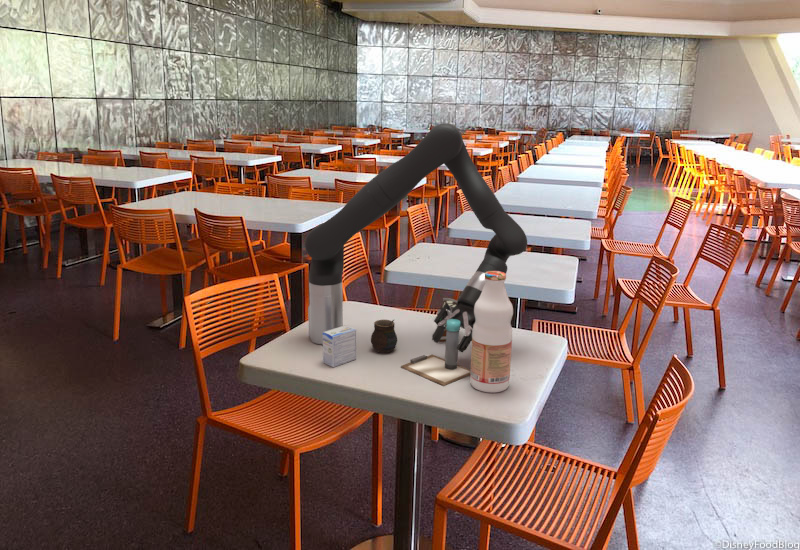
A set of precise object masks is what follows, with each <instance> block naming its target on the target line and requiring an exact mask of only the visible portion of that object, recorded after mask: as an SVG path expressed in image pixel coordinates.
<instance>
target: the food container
mask: <svg viewBox="0 0 800 550" xmlns="http://www.w3.org/2000/svg"><path fill="white" fill-rule="evenodd" d="M442 300H443V301H442V303H441V305H440V307H439V309H437V314H436V316H437V315H438V314H439V312H440V311H441V309H442V308H443V306H444V305H445V304H448V305H449V306H451V307H455V306H456V305H457V301H458V300H456V299H453V298H449V297H443V298H442ZM451 314H452V313H451ZM441 318H442V317H441ZM440 320H441V319H440ZM445 325H446V324H445ZM437 327H438V325H437V324H436V328H437ZM446 333H447V329H446V330H445V332H444V334H443V336H442V337H441V339H440V340H439V342H438V343H446Z"/></svg>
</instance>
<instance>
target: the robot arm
mask: <svg viewBox="0 0 800 550" xmlns="http://www.w3.org/2000/svg"><path fill="white" fill-rule="evenodd" d="M443 165H444V166H445V167H446V168H447V169H448V171H449V172H450V173H451V174H452V176H453V178H454V179H455V181H456V183H457V185H458V187H459V188H460V190H461V192H462V195H463V196H464V198H465V201H466V202H467V204H468V205H469V207H470V209H471V210H472V213H473V214H474V216H475V217H476V218H477V220H478V221H479V223H480V225H482V226H481V227H483V228H484V229H487V230H491V231H492V232H493V233H495V234H494V235H493V237H492V238H491V239H490V241H489V243H488V245H487V247H486V250H485V253H484V257H483V259H482V261H481V262H480V263H479V266H477V269H476V271H475V272H474V274H473V275H472V276H471V278H470V279H469V280H468V282H467V284H466V285H465V287H463V290H462V291H461V293H460V295H459V297H458V298H457V300H456V301H457V305H456V306H455V307H451V306H449V305H448V304H445V305H444V306H443V308H442V309H441V311H440V312H439V314H438V315H437V314H436V316H435V318H434V319H433V322H434V323H435V325H436V329H435V331H433V334H432V336H431V338H432V339H431V340H432V341H433V342H434V343H436V344H437V343H440V342H439V340H440V339H441V337H442V336H443V334H444V332H445V330H446V326H447V320H449V319H457V320H459V321H460V328H461V329H463V330H464V331H465V334H464V335H463V336H462V338H461V340H459V345H458V346H457V349H458V352H460V353H462V354H463V353H464V352H465V351H466V350H467V349H468V347H469V345H471V343H472V331H473V326H474V323H475V315H474V306H475V303H476V301H477V300H478V299H479V297H480V295H481V292H482V290H483V288H484V285H485V282H486V281H485V278H484V276H485V273H486V272H488V271H500V272H504V273H505V274H506V275H507V272H508V265H507V264H506V263H507V262H508V259H509V258H510V257H512V256H517V255H520V254H521V255H522V253H524V252H525V251H526V250H527V246H528V238H527V235H526V233H525V231H524V229H523V228H522V227H521V226H520V224H518V222H516V221H515V219H514V218H512V216H511V215H509V213H507V211H505V208H503V206H502V204H501V202H500V201H499V199H498V198H497V197H496V195H495V193H494V192H493V190H492V189H491V187H490V186H489V184H488V183H487V181H486V180H485V179H484V177H483V176H482V174H481V173H480V171H479V170H478V168H477V167H476V165H475V163H474V161H473V160H472V158H471V156H470V153H469V152H468V149H467V147H466V145H465V142H464V139H463V135H462V133H461V131H460V129H459V128H458V127H457V126H455V125H454V124H452V123H448V122H445V123H440V124H437V125H435V126H433V127H432V128H431V129H430V130H429V131H428V132H427V134H426V135H425V136H424V137H423V138H422V140H421V141H419V143H417V145H416V146H415V147H414V148H413V149H412V150H410V151H409V152H408V153H407V154H406V155H405V156H403V157H402V158H400V159H399V160H397V161H395V162H393V163H392V164H390V165H389V166H388V167H386V168H384V169H383V170H381V171H380V172H379V173H378V174H376V175H375V176H374V177H373V178H371V180H369V181H368V182H367V183H366V184H365V185H364V186H363V187H361V188H360V189H359V190H358V191H357V192H356V193H355V194H354V195H353V196H352V197H351V199H350V200H348V201H347V203H346V204H345V205H344V206H343V207H342V208H341V209H340V210H339V211H338V212H337V213H335V214H334V215H332V216H331V218H328V219H327V220H326V221H325V222H322V223H319V224H317V225H315V227H313V228H312V229H311V230H310V231H309V232H308V234H307V235H306V237H305V242H304V249H305V251H306V254H307V256H309V257H310V258H311V260H310V261H311V262H310V269H309V272H308V288H309V289H308V291H309V292H308V293H309V305H308V307H307V314H308V315H307V318H308V320H307V321H308V338H309V339H310V341H311V342H312V343H313V344H316V345H323V332H325V331H329V330H332V329H335V328H338V327H342V326H344V324H343V323H344V313H343V311H344V309H343V307H344V305H343V304H344V302H343V299H344V298H343V272H344V268H345V266H344V265H345V262H344V261H345V259H344V258H345V257H344V256H345V252H344V251H345V244H346V243H348V242H349V241H350V240H351V239H352V237H354V236H355V235H356V234H358V233H359V232H360V231H362V230H363V229H365V228H366V227H368V226H370V225H371V224H373V223H374V222H375V221H377V220H378V219H380V218H381V217H383V216H384V215H385V214H386V213H389V211H390V210H392V209H393V208H394V207H396V206H397V205H398V204H399V203H401V202H402V200H403V199H405V198H406V197H407V196H408V195H409V194H410V193H411V192H412V191H413V190H414V188H416V187H417V186H418V184H420V183H421V181H422V180H423V179H424V178H426V177H427V176H428V175H429V174H431V173H432V172H434V171H435V170H436V169H438V168H440V167H441V166H443ZM451 313H452V314H451ZM441 317H442V318H441ZM440 319H441V320H440ZM445 324H446V325H445ZM437 325H438V327H437Z"/></svg>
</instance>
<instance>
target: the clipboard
mask: <svg viewBox="0 0 800 550" xmlns="http://www.w3.org/2000/svg"><path fill="white" fill-rule="evenodd" d="M400 368H401V369H403V370H406V371H408V372H410V373H413V374H415V375H418V376H420V377H422V378H424V379H427V380H429V381H432V382H433V383H435V384H437V385H439V386H443V387H446V386H447V385H450V384H452V383H454V382H457V381H459V380H462V379H464V378H467V377H468V376H470V373H471V368H470V369H469V368H467V367H464V366H462V365H460V364H457V369H454V370H449V369H446V368H445V358H442V357H440V356H437V355H434V354H429V355H425V354H422V355H420V356H417V357H415V358H410V361H409V362H407V363H406V364H405V363H404V364H402V365H400Z"/></svg>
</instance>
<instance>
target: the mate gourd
mask: <svg viewBox="0 0 800 550" xmlns="http://www.w3.org/2000/svg"><path fill="white" fill-rule="evenodd" d="M394 321H395V319H392V320H391V319H378V320H376V321H374V322H373V325H374V326H373V327H374V329H373V331H372V333H371V337H370V343H371V346H372V348H373V350H374V351H376V352H377V353H381V354H386V353H387V354H388V353H390V352H392V351H393V350H395V348H396V347H397V344H398V336H397V334H396V330H395V322H394Z"/></svg>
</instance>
